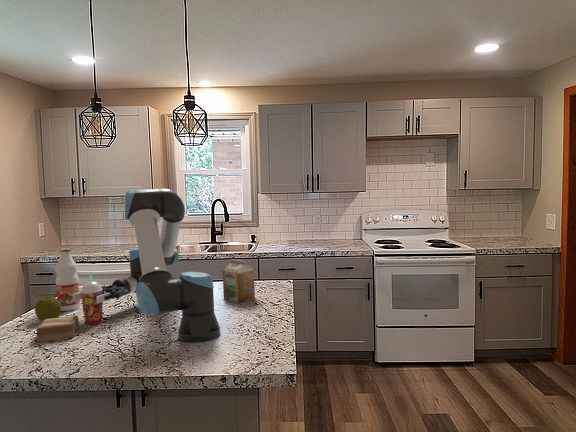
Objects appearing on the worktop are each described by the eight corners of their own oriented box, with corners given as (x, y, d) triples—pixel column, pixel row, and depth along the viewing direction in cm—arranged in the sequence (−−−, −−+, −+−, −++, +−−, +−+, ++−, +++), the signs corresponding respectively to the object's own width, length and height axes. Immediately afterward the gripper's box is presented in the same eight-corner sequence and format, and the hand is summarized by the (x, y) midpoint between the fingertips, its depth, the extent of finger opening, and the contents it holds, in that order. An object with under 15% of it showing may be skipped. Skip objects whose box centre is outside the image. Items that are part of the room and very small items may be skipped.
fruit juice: (84, 306, 209) (80, 247, 207) (66, 312, 201) (61, 250, 199) (71, 304, 214) (67, 246, 211) (53, 310, 205) (48, 249, 203)
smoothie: (87, 320, 188) (84, 273, 187) (107, 319, 189) (104, 272, 187) (79, 326, 180) (76, 277, 178) (100, 325, 180) (97, 276, 179)
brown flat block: (73, 337, 167) (72, 324, 166) (37, 342, 163) (36, 328, 163) (78, 327, 178) (77, 315, 178) (45, 331, 175) (44, 318, 174)
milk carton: (255, 298, 214) (253, 259, 212) (238, 303, 206) (236, 262, 205) (240, 295, 221) (239, 257, 219) (223, 299, 213) (222, 260, 212)
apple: (43, 325, 183) (41, 299, 182) (30, 322, 188) (28, 296, 187) (66, 318, 191) (64, 293, 190) (54, 315, 196) (52, 291, 195)
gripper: (146, 296, 195) (108, 310, 176) (104, 292, 205) (64, 305, 185) (145, 279, 195) (107, 291, 175) (103, 276, 204) (62, 287, 185)
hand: (85, 298), depth 180 cm, fingers open, 12 cm apart
